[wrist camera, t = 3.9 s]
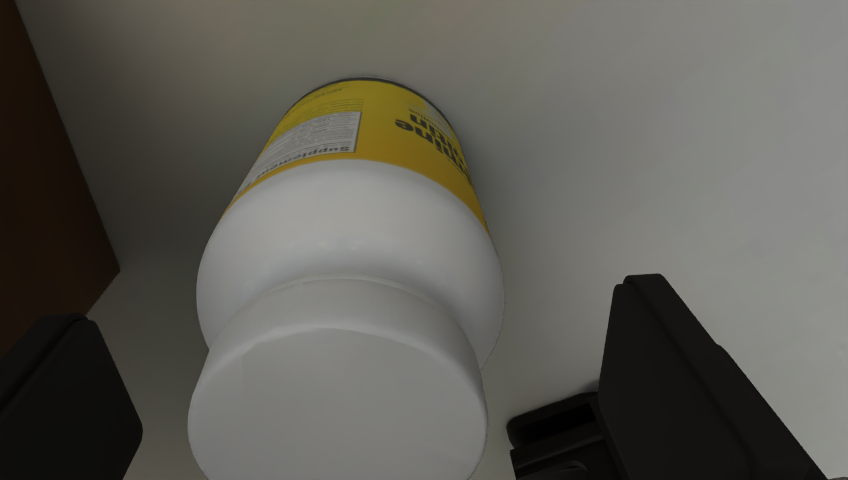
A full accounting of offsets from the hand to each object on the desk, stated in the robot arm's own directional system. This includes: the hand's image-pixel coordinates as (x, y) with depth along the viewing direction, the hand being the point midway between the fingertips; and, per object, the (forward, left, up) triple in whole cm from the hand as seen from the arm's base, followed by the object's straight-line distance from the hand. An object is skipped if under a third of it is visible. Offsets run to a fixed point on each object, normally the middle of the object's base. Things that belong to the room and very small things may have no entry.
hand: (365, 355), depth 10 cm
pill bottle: (0, 0, -10) cm, 10 cm away
